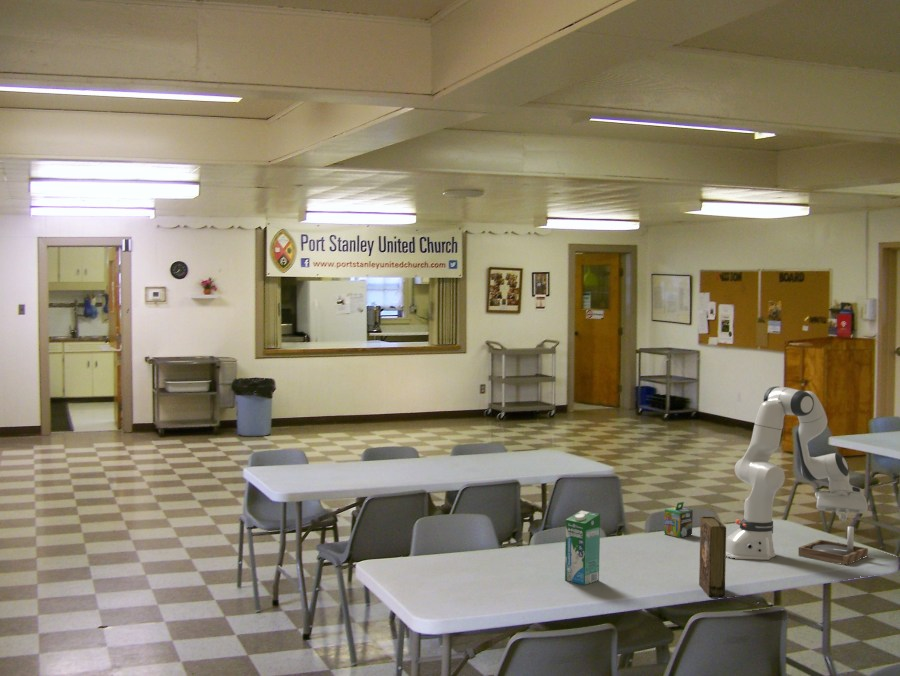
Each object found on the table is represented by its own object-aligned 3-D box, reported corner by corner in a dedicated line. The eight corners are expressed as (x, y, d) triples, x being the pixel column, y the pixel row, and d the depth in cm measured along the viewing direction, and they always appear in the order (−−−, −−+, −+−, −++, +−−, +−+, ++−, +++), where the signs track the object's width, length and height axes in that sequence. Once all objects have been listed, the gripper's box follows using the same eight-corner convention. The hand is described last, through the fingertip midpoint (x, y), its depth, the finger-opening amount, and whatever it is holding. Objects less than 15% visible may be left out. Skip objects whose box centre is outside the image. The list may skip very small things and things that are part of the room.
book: (698, 584, 361) (699, 516, 360) (713, 584, 360) (714, 516, 360) (709, 597, 344) (710, 526, 343) (724, 597, 344) (726, 526, 343)
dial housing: (846, 565, 389) (846, 556, 389) (798, 555, 404) (798, 546, 404) (867, 556, 403) (867, 548, 403) (820, 547, 418) (820, 539, 417)
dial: (809, 553, 400) (809, 526, 400) (815, 545, 414) (816, 519, 414) (851, 559, 392) (851, 531, 392) (856, 550, 406) (857, 523, 406)
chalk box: (676, 531, 445) (676, 499, 444) (692, 535, 438) (693, 502, 437) (663, 534, 439) (663, 501, 438) (680, 538, 432) (680, 504, 431)
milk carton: (564, 580, 363) (565, 513, 362) (579, 575, 370) (580, 509, 369) (584, 585, 357) (585, 517, 356) (599, 580, 363) (600, 513, 362)
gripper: (815, 486, 422) (818, 513, 412) (866, 489, 417) (870, 516, 408) (813, 494, 426) (816, 521, 417) (863, 497, 422) (867, 525, 413)
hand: (843, 519), depth 412 cm, fingers closed
